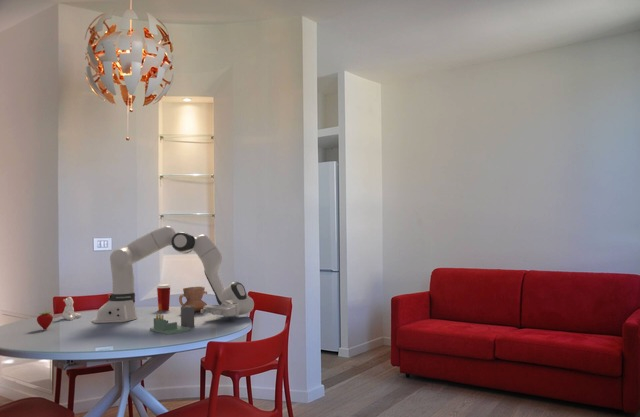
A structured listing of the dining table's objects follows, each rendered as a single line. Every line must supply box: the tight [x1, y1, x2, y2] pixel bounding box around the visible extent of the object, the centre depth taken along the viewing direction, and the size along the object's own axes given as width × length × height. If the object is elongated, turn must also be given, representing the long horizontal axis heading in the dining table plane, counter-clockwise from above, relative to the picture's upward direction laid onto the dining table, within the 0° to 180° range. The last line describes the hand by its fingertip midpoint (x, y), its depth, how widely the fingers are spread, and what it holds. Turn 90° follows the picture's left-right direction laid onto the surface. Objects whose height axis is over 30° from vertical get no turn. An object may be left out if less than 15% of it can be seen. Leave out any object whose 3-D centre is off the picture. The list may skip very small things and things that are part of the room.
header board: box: [149, 313, 191, 335], centre depth 255 cm, size 12×16×8 cm
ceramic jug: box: [178, 286, 209, 314], centre depth 309 cm, size 18×14×14 cm
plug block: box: [180, 305, 195, 329], centre depth 263 cm, size 5×5×11 cm
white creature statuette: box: [61, 296, 82, 321], centre depth 292 cm, size 10×9×12 cm
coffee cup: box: [156, 283, 171, 312], centre depth 317 cm, size 8×8×15 cm
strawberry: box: [36, 310, 54, 330], centre depth 262 cm, size 6×8×10 cm
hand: (207, 312), depth 271 cm, fingers open, 8 cm apart
